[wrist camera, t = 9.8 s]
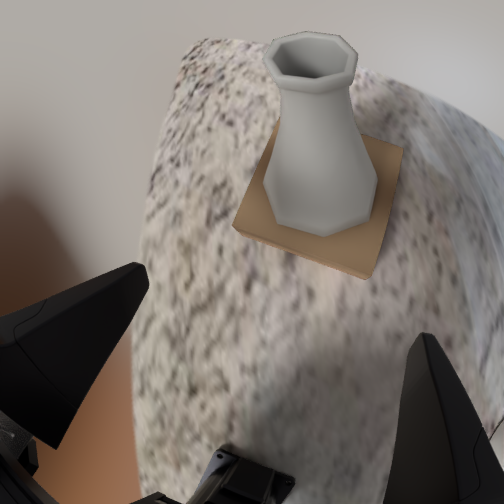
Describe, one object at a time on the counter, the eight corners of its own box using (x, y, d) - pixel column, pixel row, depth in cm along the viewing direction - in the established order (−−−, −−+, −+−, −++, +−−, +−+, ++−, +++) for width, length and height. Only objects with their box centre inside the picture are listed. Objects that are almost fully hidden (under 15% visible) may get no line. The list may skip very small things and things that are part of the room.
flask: (264, 139, 18) (216, 21, 9) (368, 134, 17) (384, 10, 7) (262, 240, 17) (189, 150, 7) (383, 237, 15) (450, 141, 6)
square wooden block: (363, 280, 18) (371, 275, 15) (243, 237, 20) (231, 225, 18) (394, 168, 19) (403, 148, 16) (286, 136, 21) (281, 113, 18)
